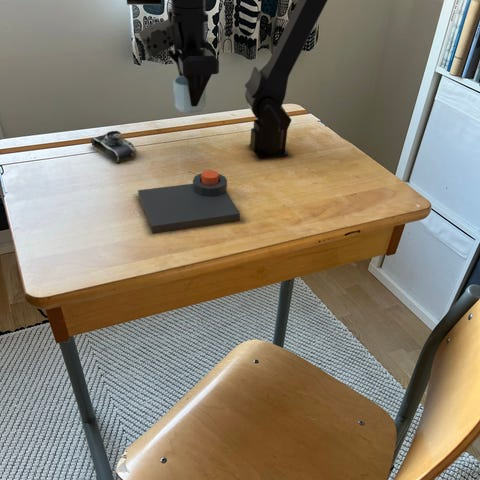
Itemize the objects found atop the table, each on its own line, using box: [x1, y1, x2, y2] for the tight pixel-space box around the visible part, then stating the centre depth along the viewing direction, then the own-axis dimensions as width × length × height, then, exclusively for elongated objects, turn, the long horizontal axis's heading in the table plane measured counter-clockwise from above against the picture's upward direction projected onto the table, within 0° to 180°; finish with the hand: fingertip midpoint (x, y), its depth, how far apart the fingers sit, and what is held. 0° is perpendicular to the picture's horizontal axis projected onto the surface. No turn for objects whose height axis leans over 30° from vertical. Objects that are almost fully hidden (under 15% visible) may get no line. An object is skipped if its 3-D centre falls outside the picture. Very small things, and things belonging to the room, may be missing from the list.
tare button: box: [201, 169, 220, 185], centre depth 90 cm, size 3×3×2 cm
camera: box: [90, 130, 138, 163], centre depth 102 cm, size 5×10×4 cm, turn 41°
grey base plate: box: [137, 172, 241, 234], centre depth 88 cm, size 16×12×3 cm
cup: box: [172, 75, 207, 114], centre depth 96 cm, size 6×6×5 cm
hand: (190, 99), depth 97 cm, fingers closed on cup, 6 cm apart
